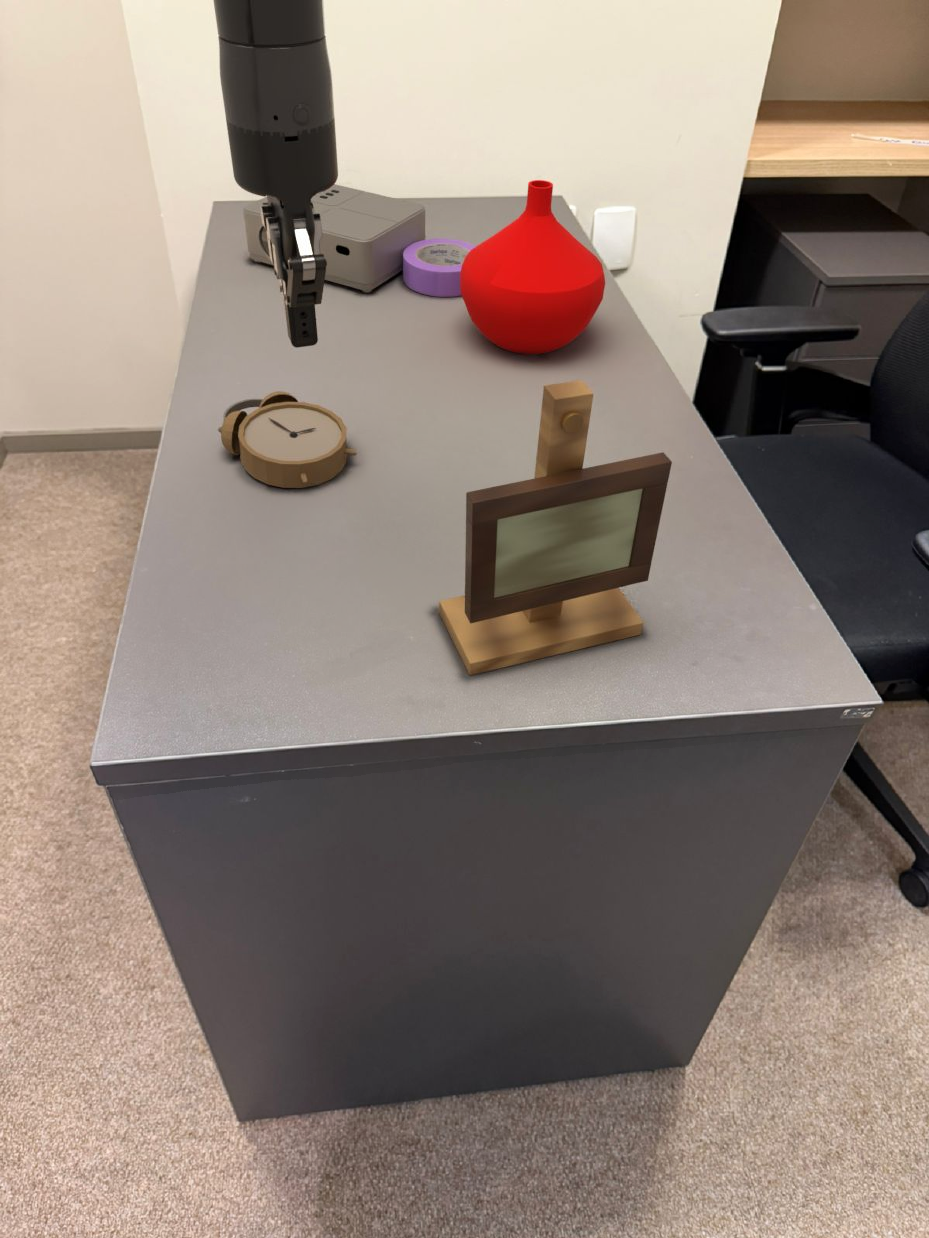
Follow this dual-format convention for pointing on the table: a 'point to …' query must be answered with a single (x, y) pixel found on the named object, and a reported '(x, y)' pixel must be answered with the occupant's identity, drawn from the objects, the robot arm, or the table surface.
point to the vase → (532, 281)
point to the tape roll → (435, 266)
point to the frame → (562, 535)
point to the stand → (559, 621)
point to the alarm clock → (286, 440)
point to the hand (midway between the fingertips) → (303, 342)
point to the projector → (352, 234)
